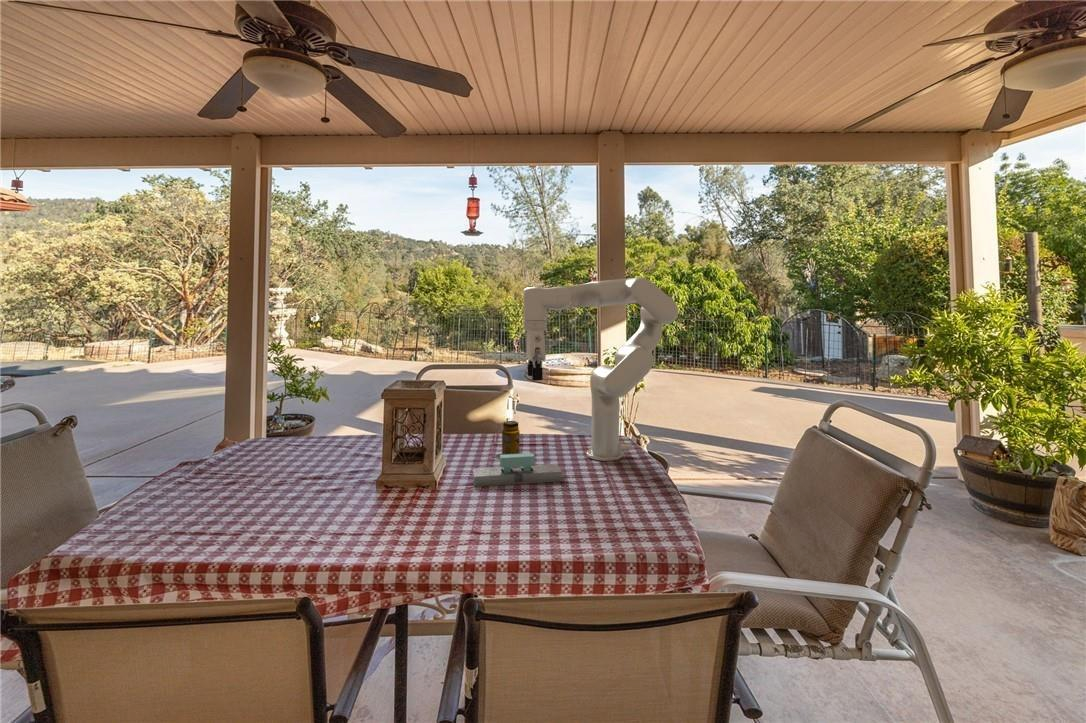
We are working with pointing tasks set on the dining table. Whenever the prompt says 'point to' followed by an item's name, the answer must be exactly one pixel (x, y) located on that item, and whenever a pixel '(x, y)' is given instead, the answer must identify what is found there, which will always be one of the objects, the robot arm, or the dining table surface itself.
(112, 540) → the dining table surface
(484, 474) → the rail
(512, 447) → the condiment
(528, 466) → the clip
